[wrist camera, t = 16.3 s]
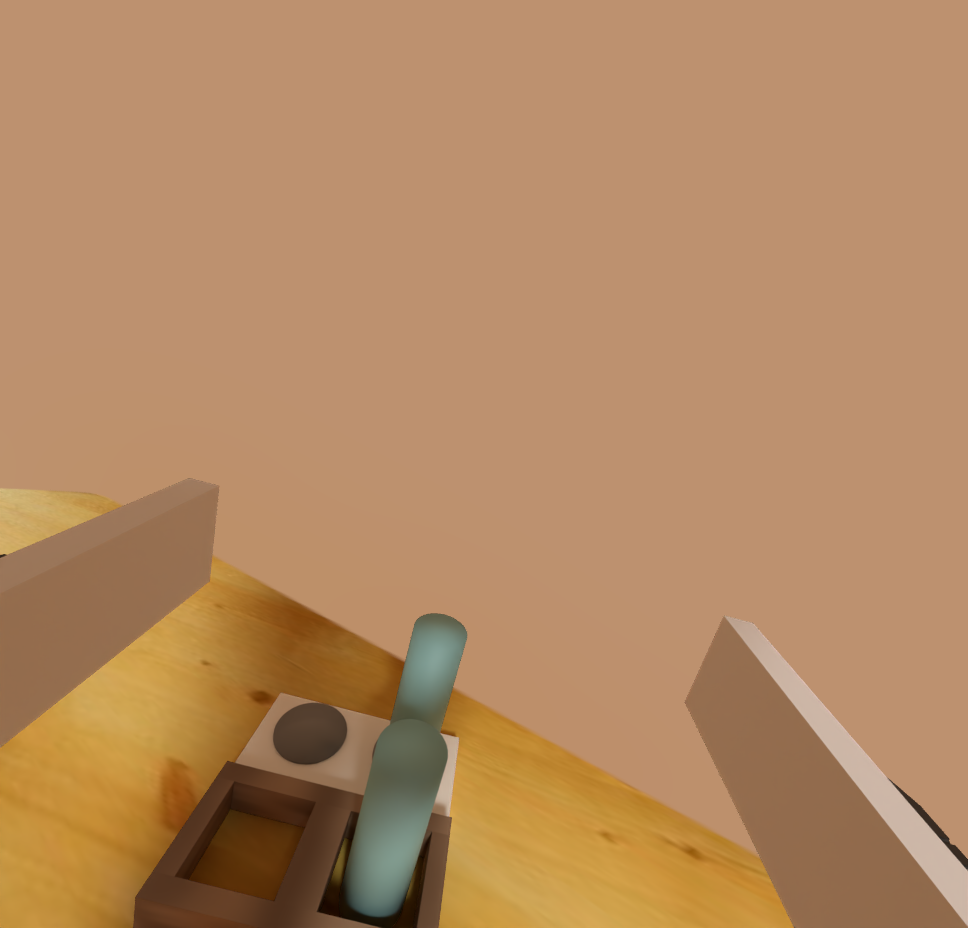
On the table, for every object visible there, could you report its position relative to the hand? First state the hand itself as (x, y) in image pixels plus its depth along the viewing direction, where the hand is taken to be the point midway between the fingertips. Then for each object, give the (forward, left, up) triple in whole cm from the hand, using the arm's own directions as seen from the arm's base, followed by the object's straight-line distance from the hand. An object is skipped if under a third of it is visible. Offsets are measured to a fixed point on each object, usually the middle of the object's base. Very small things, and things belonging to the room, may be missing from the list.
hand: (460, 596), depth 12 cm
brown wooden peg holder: (+8, -6, -28) cm, 30 cm away
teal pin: (+5, -8, -28) cm, 30 cm away
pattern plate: (+12, -13, -28) cm, 33 cm away
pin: (+9, -16, -27) cm, 33 cm away
